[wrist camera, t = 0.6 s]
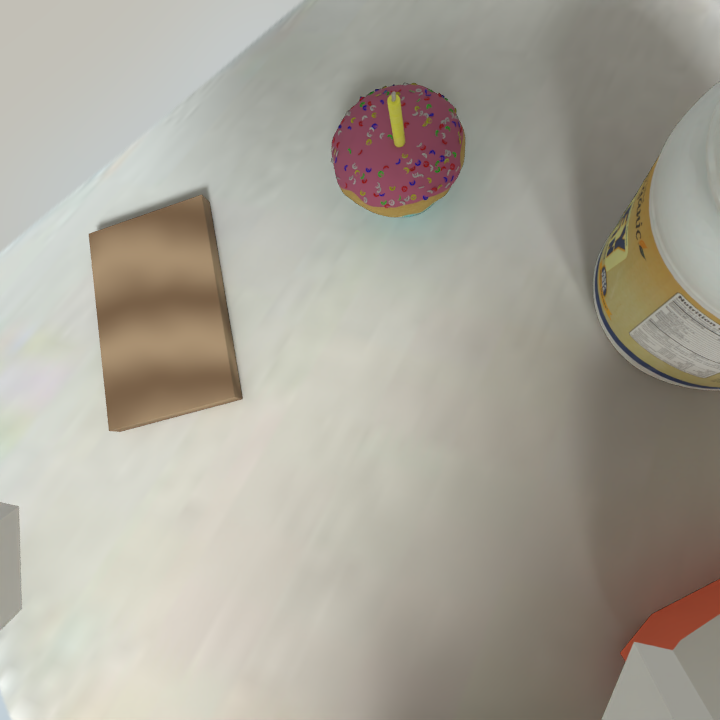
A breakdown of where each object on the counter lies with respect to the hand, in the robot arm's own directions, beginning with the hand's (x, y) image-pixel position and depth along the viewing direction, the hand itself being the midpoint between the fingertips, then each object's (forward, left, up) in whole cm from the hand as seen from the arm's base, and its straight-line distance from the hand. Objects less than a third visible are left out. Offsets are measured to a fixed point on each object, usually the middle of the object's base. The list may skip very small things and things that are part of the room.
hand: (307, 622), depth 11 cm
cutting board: (+18, +15, -22) cm, 32 cm away
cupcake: (+22, -5, -22) cm, 32 cm away
